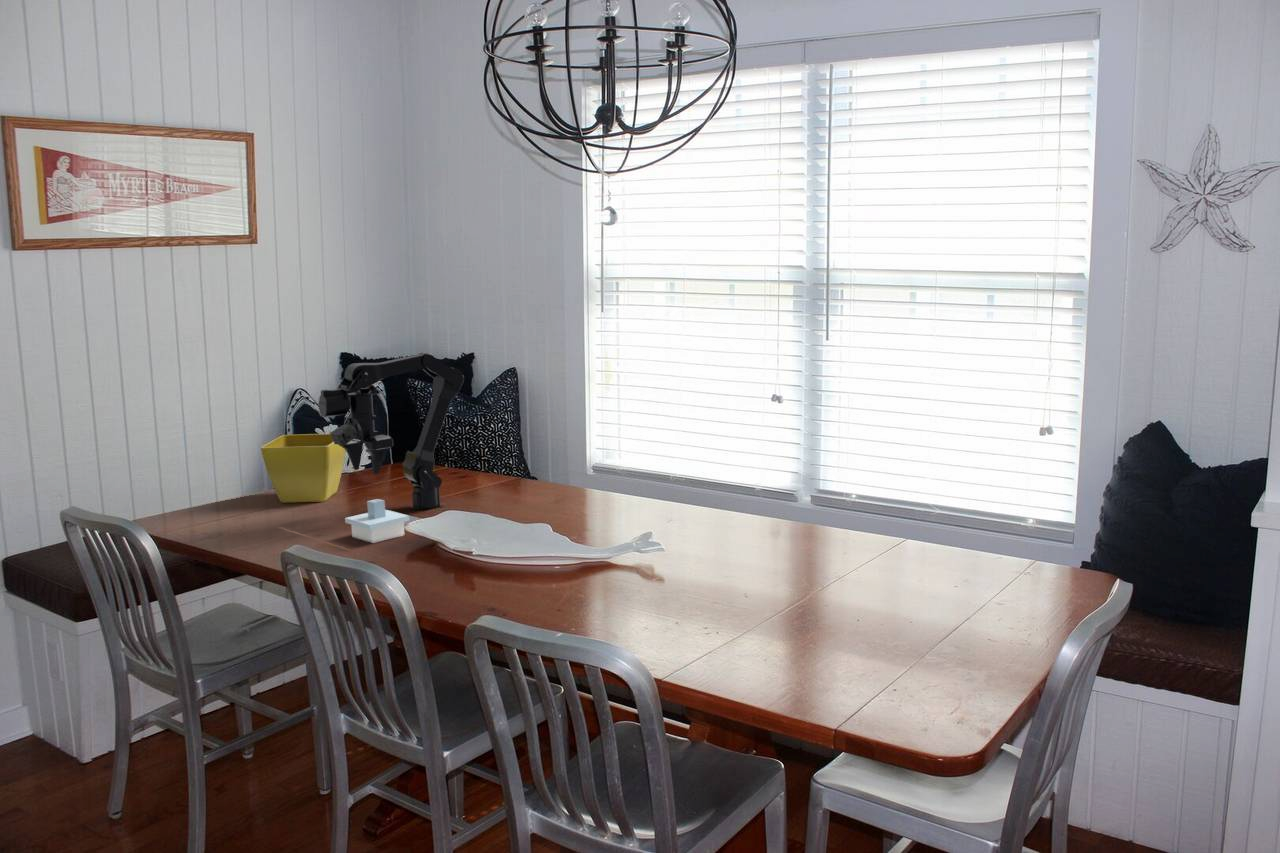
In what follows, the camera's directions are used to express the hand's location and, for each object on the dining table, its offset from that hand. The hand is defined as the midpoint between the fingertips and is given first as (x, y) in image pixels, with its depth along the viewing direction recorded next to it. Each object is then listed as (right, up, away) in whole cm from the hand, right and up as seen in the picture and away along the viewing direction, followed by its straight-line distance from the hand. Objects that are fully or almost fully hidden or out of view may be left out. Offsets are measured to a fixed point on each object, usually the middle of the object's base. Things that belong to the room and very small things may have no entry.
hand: (366, 471), depth 283 cm
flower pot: (-23, -9, +29) cm, 38 cm away
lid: (+7, -11, -17) cm, 22 cm away
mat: (+7, -13, -3) cm, 15 cm away
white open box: (+7, -15, -17) cm, 24 cm away
